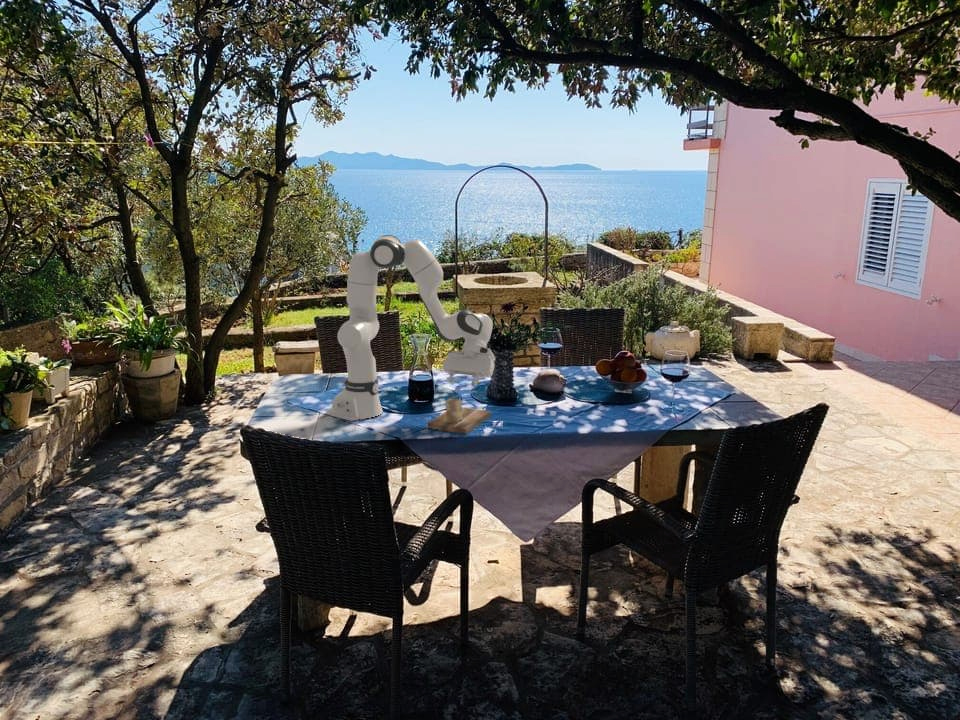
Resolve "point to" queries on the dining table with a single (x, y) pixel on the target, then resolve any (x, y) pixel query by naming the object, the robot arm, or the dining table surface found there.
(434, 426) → the board
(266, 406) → the dining table surface
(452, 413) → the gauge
